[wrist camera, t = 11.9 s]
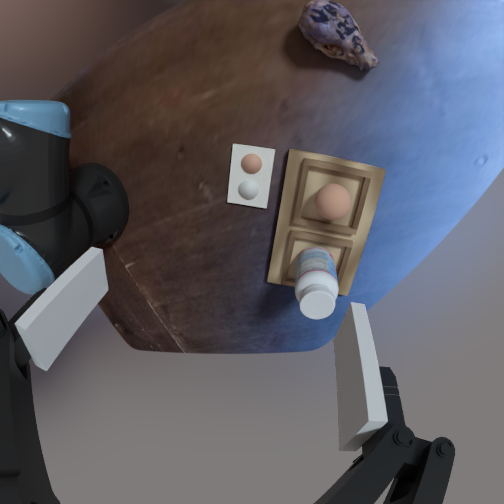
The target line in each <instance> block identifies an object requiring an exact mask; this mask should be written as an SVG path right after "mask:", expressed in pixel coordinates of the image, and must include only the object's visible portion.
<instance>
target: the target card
mask: <svg viewBox="0 0 504 504" xmlns="http://www.w3.org/2000/svg"><path fill="white" fill-rule="evenodd" d="M274 154H275V149H268V148H262V147H255V146H247V145H240V144H233V149H232V158H231V168H230V178H229V189H228V199H227V202H229V203H236V204H242V205H248V206H254V207H260V208H267V202H268V195H269V188H270V181H271V175H272V168H273V161H274Z"/></svg>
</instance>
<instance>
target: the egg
mask: <svg viewBox="0 0 504 504" xmlns="http://www.w3.org/2000/svg"><path fill="white" fill-rule="evenodd" d="M315 205H316V209H317V211H318V212H319V214H320V215H321V216H323V217H324V218H326V219H329V220H339V219H341V218H343V217H345V216H346V215H347V214H348V212H349V210H350V208H351V196H350V194H349V192H348V191H347V190H346V189H345V188H344V187H343V186H341V185H339V184H334V183H331V184H327V185H325V186H323V187H322V188H320V189H319V191H318V192H317V194H316V197H315Z"/></svg>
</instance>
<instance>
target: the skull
mask: <svg viewBox="0 0 504 504" xmlns="http://www.w3.org/2000/svg"><path fill="white" fill-rule="evenodd" d="M298 25H299V28H300V30H301V31H302V33H303V37H304V38H305V39H307V40H308V41H309V43H310V44H311V45H313V46H314V48H315V49H317V50H320V51H322V52H323V53H324V54H325V55H327V56H328V57H330V58H338V59H341V60H342V61H344V62H347V63H348V64H350V65H357V66H359V68H360V70H362V69H363V68H367V70H369V69H370V70H371V69H372V68H375V67H377V66H378V63H379V59H378V58H377V57H376V55H375V53H374V51H373V50H372V49H371V48H370V47H369V45H368V43H367V42H366V41H365V39H364V38H363V37H362V34H361V31H360V28H359V26H358V24H357V23H356V22H355V20H354V19H353V17H352V16H351V14H350V13H349V11H348V10H346V9H345V8H344V7H343V6H342V5H340V4H338V3H335V2H331V1H330V0H314V1H310V2H308V3H307V4H306V5H305V6H304V8H303V12H302V16H301V17H300V20H299V22H298ZM356 28H357V29H356ZM324 45H326V46H327V47H328V48H324ZM330 45H331V46H330Z"/></svg>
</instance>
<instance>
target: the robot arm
mask: <svg viewBox="0 0 504 504" xmlns="http://www.w3.org/2000/svg"><path fill="white" fill-rule="evenodd" d="M70 138H71V134H70V110H69V108H68V106H67V105H66V104H64V103H62V102H56V101H43V100H42V101H40V100H9V101H0V273H1V274H2V275H3V276H4V278H5V279H6V280H7V281H8V282H9V283H10V284H11V285H12V286H14V287H15V288H16V289H18V290H19V291H21V292H23V293H26V294H30V295H32V294H33V296H32V297H31V298H30V300H28V301H27V302H26V304H25V305H24V306H23V307H22V308H21V309H20V310H19V311H18V312H17V313H16V314H15V315H14V316H13V317H12V318H11V319H10V321H9V322H8V321H7V318H6V316H5V314H4V312H3V311H2V310H1V309H0V504H60V502H59V500H58V499H57V498H56V496H55V495H54V493H53V491H52V488H51V485H50V481H49V478H48V474H47V470H46V467H45V463H44V458H43V454H42V450H41V445H40V440H39V436H38V430H37V424H36V418H35V411H34V404H33V395H32V386H31V373H30V365H29V362H28V361H29V359H30V358H32V360H33V361H34V363H35V365H36V366H38V367H40V368H42V369H43V370H46V371H47V370H48V368H49V367H50V366H51V364H52V363H53V361H54V360H55V358H56V357H57V356H58V354H59V353H60V352H61V350H62V349H63V347H64V346H65V345H66V343H67V342H68V341H69V339H70V338H71V337H72V335H73V334H74V333H75V331H76V330H77V329H78V327H79V326H80V325H81V324H82V322H83V321H84V319H85V318H86V317H87V316H88V315H89V313H90V312H91V311H92V310H93V308H94V307H95V306H96V304H97V303H98V302H99V301H100V300H101V298H102V297H103V296H104V295H105V293H106V292H107V291H108V284H107V278H106V271H105V264H104V257H103V249H99V248H95V246H99V245H102V244H106V243H108V242H110V241H112V240H113V239H114V238H116V237H117V236H118V235H119V234H120V233H121V232H122V231H123V229H124V228H125V226H126V224H127V221H128V216H129V204H128V198H127V195H126V192H125V189H124V187H123V185H122V184H121V182H120V180H119V179H118V178H117V177H116V175H115V174H114V173H113V172H112V171H110V170H109V169H108V168H106V167H104V166H102V165H99V164H95V163H88V164H84V165H82V166H79V167H77V168H75V169H73V170H72V171H71V172H69V147H70ZM88 248H90V249H89V250H88V251H86V250H87V249H88ZM85 251H86V252H85ZM84 252H85V253H84ZM83 253H84V254H83ZM81 254H83V255H82V256H81V257H80V258H79V259H78V260H77V261H76V262H75V263H73V262H74V261H75V260H76V259H77V258H78V257H79V256H80V255H81ZM72 263H73V264H72ZM71 264H72V265H71ZM70 265H71V267H69V266H70ZM68 267H69V268H68ZM67 268H68V269H67ZM66 269H67V270H66ZM65 270H66V271H65ZM64 271H65V272H64ZM63 272H64V273H63ZM62 273H63V274H62ZM61 274H62V275H61ZM59 275H61V276H60V277H59ZM58 277H59V278H58ZM56 278H58V279H57V280H56ZM55 280H56V281H55ZM54 281H55V282H54ZM53 282H54V283H53ZM52 283H53V284H52ZM49 284H52V285H51V286H50V287H49V288H48V289H47V288H46V287H47V286H48V285H49ZM334 352H335V365H336V379H337V397H338V423H339V451H357V450H358V449H359V448H360V447H361V446H362V453H363V454H361V455H360V456H359V457H358V458H357V459H355V460H354V461H353V464H352V465H351V466H350V468H349V469H348V470H347V471H346V472H345V473H344V474H343V475H342V477H340V478H339V479H338V481H337V482H336V483H335V484H334V485H333V486H332V487H331V488H330V489H329V490H328V491H327V492H326V493H325V494H324V495H322V496H321V498H319V499H318V500H317V501H316V502H315V503H314V504H374V503H375V502H376V500H377V499H378V498H379V497H380V495H381V494H382V493H383V491H384V490H385V489H386V488H387V486H388V485H389V483H390V482H391V481H392V479H393V478H394V480H393V482H392V485H391V487H390V490H389V492H388V494H387V496H386V498H385V501H384V503H383V504H442V503H443V499H444V496H445V493H446V489H447V486H448V482H449V478H450V474H451V470H452V466H453V461H454V456H455V448H454V445H453V443H452V442H451V441H450V440H449V439H447V438H445V437H439V438H436V439H435V440H434V441H433V442H430V441H427V440H423V439H420V438H417V437H415V436H414V433H413V432H412V431H411V430H410V429H409V428H408V427H406V425H405V421H404V415H403V410H402V405H401V400H400V396H399V390H398V388H397V387H398V385H397V381H396V377H395V375H394V373H393V372H392V370H391V369H390V367H379V366H378V361H377V356H376V351H375V346H374V342H373V337H372V333H371V328H370V324H369V320H368V316H367V312H366V308H365V304H360V303H354V302H351V303H350V305H349V307H348V310H347V312H346V314H345V316H344V319H343V321H342V323H341V325H340V327H339V330H338V332H337V334H336V336H335V338H334Z"/></svg>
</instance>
